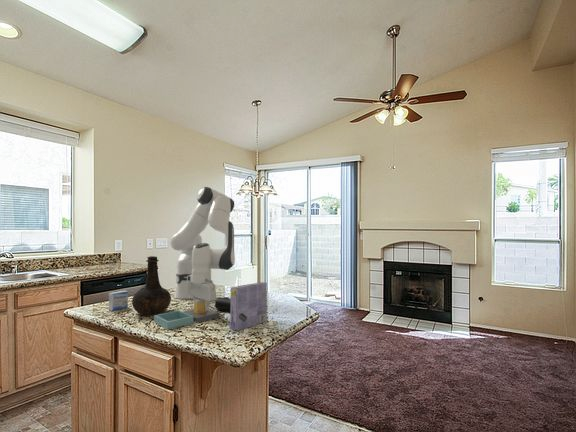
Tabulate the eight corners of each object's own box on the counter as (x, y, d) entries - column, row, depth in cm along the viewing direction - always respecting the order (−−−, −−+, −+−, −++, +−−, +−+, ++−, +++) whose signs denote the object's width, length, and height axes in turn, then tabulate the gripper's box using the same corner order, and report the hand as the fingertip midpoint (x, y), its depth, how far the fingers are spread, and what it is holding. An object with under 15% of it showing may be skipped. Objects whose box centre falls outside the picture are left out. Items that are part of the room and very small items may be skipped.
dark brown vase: (156, 306, 167) (156, 254, 168) (178, 311, 158) (179, 255, 159) (123, 314, 152) (124, 257, 153) (146, 320, 143) (147, 259, 143)
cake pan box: (261, 318, 145) (261, 280, 146) (269, 320, 142) (269, 281, 143) (229, 329, 131) (229, 287, 131) (237, 332, 127) (237, 288, 128)
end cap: (214, 312, 157) (214, 298, 157) (223, 308, 163) (223, 295, 163) (231, 314, 152) (231, 300, 153) (239, 311, 159) (239, 297, 159)
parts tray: (179, 317, 147) (179, 310, 147) (193, 324, 137) (193, 316, 137) (154, 323, 139) (154, 315, 139) (167, 330, 129) (167, 322, 129)
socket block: (204, 312, 156) (204, 307, 156) (219, 318, 146) (219, 312, 146) (181, 317, 148) (181, 311, 148) (196, 323, 138) (196, 318, 138)
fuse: (203, 314, 150) (203, 298, 150) (206, 316, 148) (206, 299, 148) (194, 317, 146) (194, 299, 146) (196, 318, 144) (196, 300, 145)
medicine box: (112, 310, 159) (112, 293, 159) (108, 309, 162) (108, 292, 162) (128, 307, 165) (128, 291, 165) (124, 306, 168) (124, 290, 168)
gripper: (219, 279, 143) (219, 310, 142) (196, 274, 157) (196, 302, 157) (207, 281, 138) (207, 313, 138) (185, 276, 153) (184, 305, 152)
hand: (201, 307), depth 147 cm, fingers open, 8 cm apart
